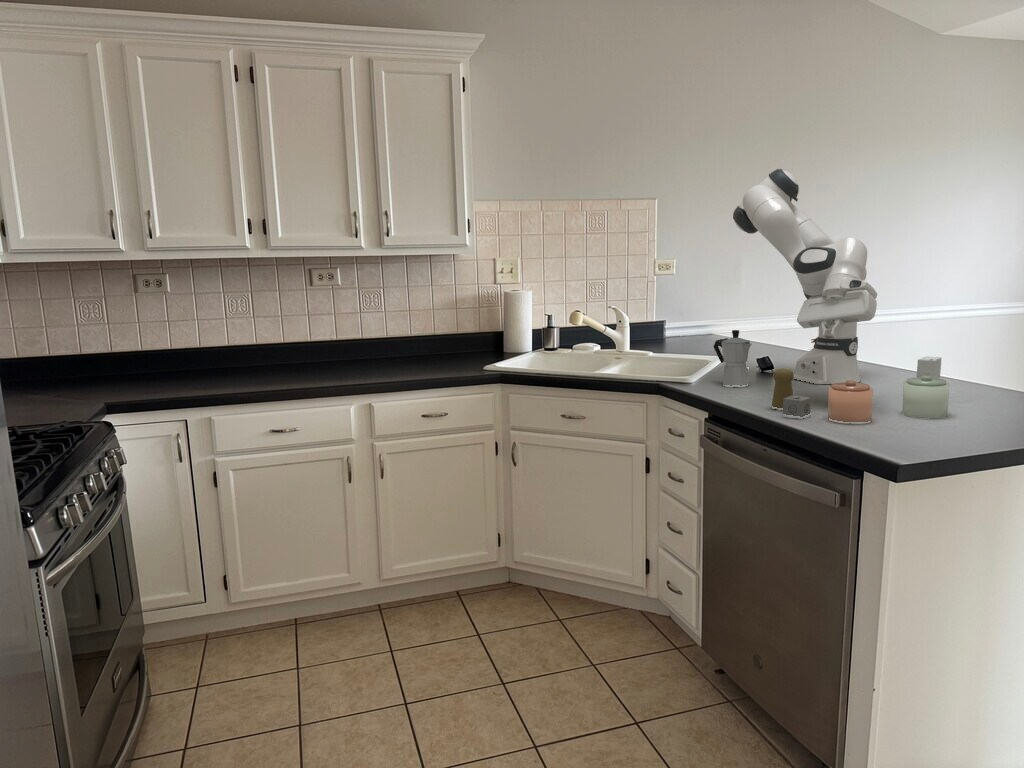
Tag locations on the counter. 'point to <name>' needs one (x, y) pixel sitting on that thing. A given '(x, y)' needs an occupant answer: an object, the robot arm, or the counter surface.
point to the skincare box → (929, 367)
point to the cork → (782, 386)
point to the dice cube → (797, 406)
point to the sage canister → (925, 397)
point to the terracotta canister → (850, 402)
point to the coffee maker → (734, 359)
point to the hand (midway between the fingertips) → (829, 337)
